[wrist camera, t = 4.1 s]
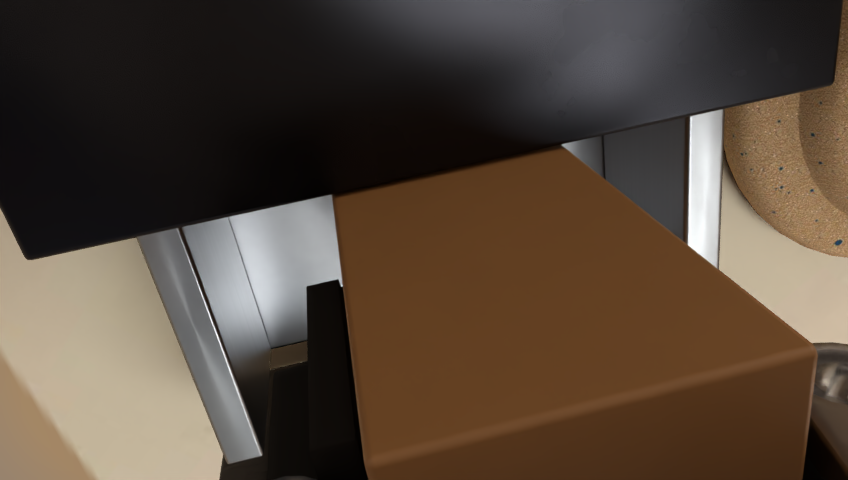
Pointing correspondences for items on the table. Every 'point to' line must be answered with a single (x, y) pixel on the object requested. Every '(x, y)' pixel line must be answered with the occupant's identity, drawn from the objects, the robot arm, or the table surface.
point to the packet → (556, 336)
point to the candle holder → (797, 159)
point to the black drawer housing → (348, 94)
